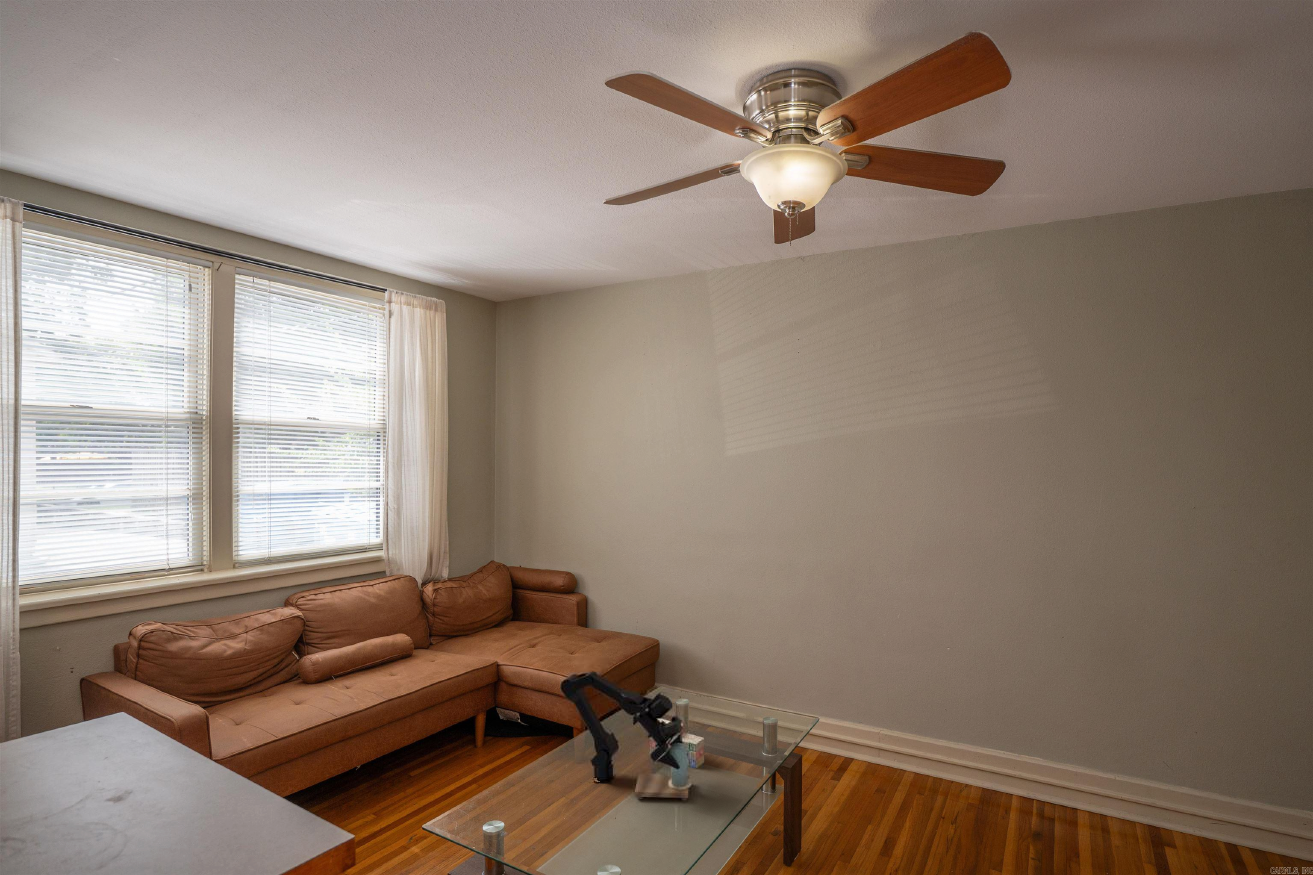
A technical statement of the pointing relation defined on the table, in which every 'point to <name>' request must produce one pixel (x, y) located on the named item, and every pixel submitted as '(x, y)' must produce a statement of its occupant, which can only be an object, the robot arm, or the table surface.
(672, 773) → the light blue rounded piece
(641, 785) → the plate
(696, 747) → the stack of blocks
